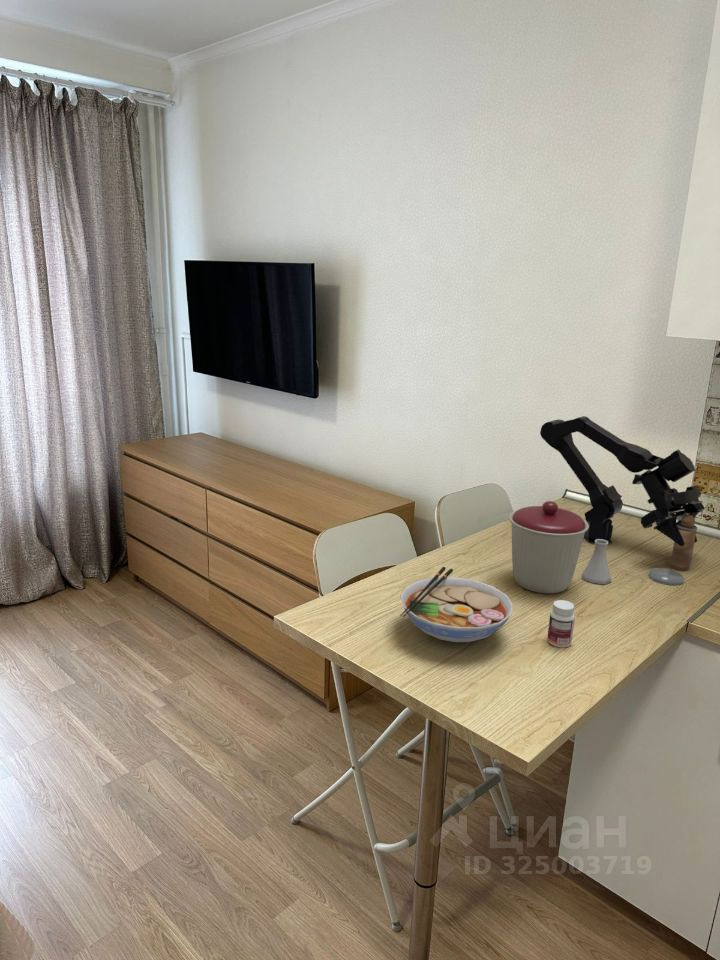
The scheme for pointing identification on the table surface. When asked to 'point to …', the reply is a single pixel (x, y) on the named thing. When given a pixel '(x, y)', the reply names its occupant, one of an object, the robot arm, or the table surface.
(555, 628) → the pill bottle
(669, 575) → the slate coaster
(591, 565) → the flask
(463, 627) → the ramen bowl
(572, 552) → the canister
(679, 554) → the pepper mill
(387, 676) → the table surface
